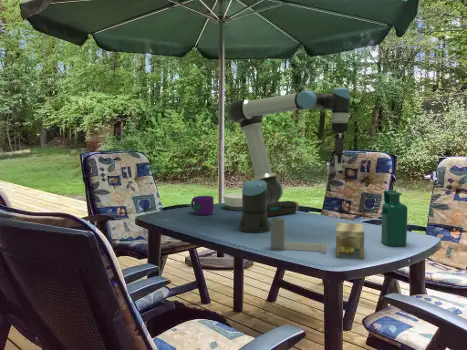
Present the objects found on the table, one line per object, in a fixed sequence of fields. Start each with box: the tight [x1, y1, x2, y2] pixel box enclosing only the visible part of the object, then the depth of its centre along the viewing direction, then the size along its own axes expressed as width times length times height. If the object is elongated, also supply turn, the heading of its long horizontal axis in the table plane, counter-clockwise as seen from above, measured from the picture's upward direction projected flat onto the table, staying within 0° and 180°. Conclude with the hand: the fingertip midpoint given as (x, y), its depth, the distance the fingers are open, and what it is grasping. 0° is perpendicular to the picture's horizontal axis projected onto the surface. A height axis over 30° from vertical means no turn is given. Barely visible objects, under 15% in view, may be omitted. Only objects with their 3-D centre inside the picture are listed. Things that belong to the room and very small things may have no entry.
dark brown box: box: [266, 200, 299, 218], centre depth 246 cm, size 11×7×30 cm
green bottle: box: [380, 189, 409, 247], centre depth 182 cm, size 10×8×22 cm
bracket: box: [270, 217, 327, 254], centre depth 174 cm, size 22×7×12 cm, turn 76°
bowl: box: [222, 192, 243, 212], centre depth 270 cm, size 22×22×8 cm
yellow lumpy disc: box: [339, 245, 356, 256], centre depth 170 cm, size 6×6×2 cm
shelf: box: [335, 222, 365, 260], centre depth 169 cm, size 10×15×10 cm, turn 166°
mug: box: [190, 195, 214, 216], centre depth 254 cm, size 17×11×10 cm, turn 43°
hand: (338, 169), depth 200 cm, fingers open, 13 cm apart
